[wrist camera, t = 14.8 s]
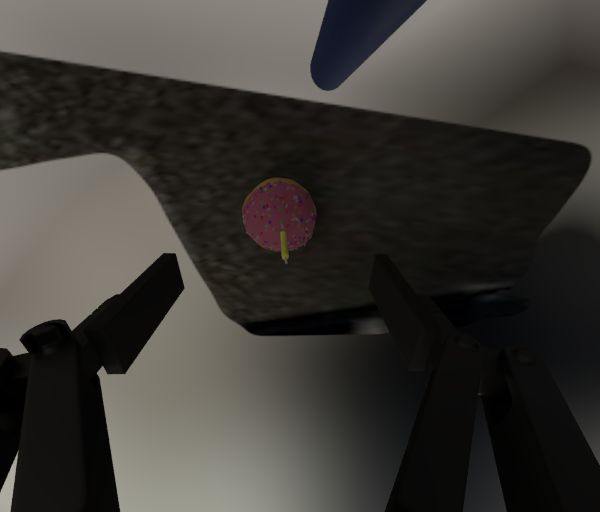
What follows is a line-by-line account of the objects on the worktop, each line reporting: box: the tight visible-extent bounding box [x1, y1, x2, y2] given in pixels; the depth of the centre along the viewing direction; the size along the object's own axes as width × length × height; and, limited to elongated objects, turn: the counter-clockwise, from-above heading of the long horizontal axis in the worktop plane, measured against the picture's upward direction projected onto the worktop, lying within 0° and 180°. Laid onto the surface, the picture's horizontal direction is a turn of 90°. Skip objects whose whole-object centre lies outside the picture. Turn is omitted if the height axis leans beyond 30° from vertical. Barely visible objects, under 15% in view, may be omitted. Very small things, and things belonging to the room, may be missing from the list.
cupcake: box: [242, 178, 316, 264], centre depth 26 cm, size 9×8×12 cm
